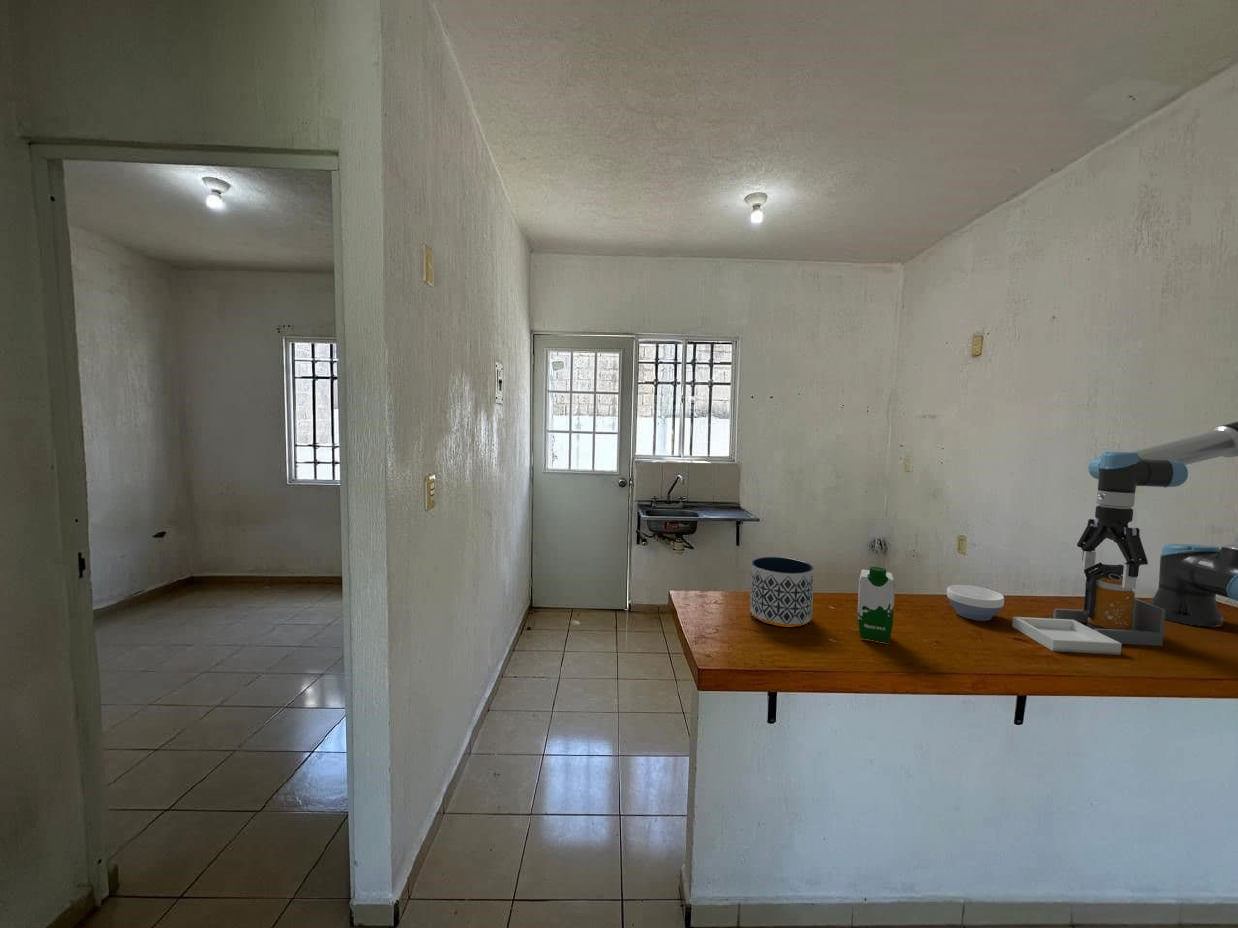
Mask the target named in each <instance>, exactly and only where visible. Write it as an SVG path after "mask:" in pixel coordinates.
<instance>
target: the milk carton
mask: <svg viewBox="0 0 1238 928" xmlns="http://www.w3.org/2000/svg"><path fill="white" fill-rule="evenodd" d="M895 588H896V584H895V579H894V575H893V574H892V572H887V569H886V568H883V567H880V566H879V567H878V566H877V567H876V566H871V567H869V569H861V571H860V576H859V580H858V596H857V598H858V599H857V623H858V630H859V637H860V638H863V639H869V640H874V641H879V642H885V643H889V644H890V642H891V636H892V633H893V632H892V631H893V627H894V625H893V624H894V612H895V611H894V610H895V607H894V606H895Z"/></svg>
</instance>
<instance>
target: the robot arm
mask: <svg viewBox="0 0 1238 928" xmlns="http://www.w3.org/2000/svg"><path fill="white" fill-rule="evenodd" d="M1219 457H1223V458H1234V457H1238V421H1235V422H1229V423H1227V424H1223V425H1219V426H1216V427H1213V428H1212V429H1209V431H1208V432H1206V433H1200V434H1198V435H1193V436H1190V437H1185V438H1181V439H1178V440H1174V441H1169V442H1167V443H1162V444H1158V445H1155V446H1151V447H1147V448H1143V449H1138V450H1134V451H1131V452H1130V451H1105V452H1103V453H1102V454H1101V456H1097V457H1094V458H1093V459H1092V460H1090V462H1089V464H1088V468H1087V469H1088V473H1089V475H1090V476H1091V477H1092V478H1094V479H1096V480H1097V481H1098V483H1097V493H1096V494H1097V496H1096V504H1098V505H1097V506H1095V512H1094V513H1095V514H1094V518H1088V520H1087V525H1086V527H1085V529H1084V531H1083V532H1082V535H1081V536H1080V538H1079V539H1078V542H1077V543H1076V546H1077V547H1078V548H1080V549H1081V550H1082V557H1081V559H1082V569H1081V573H1082V574H1085V572H1084V570H1085V569H1087V568H1089V567H1091V566H1094V565H1096V558H1097V557H1096V556H1097V552H1096V551H1097V550H1096V548H1098V546H1099V545H1100V544H1102V542H1104V541H1105V540H1106V539H1108V540H1111V541H1113V542H1114V543H1115V544H1116V545H1117V547H1118V548H1119V550H1120V552H1121V554H1122V556H1123V558H1124V559H1125V561H1126V562H1125V563H1124V564H1123V565H1124V571H1123V575H1122V576H1123V581H1122V587H1123V588H1132V589H1136V587H1137V578H1138V576H1139V570H1140V566H1142V565H1143V566H1144V565H1145V566H1146V565H1149V562H1148V561H1149V560H1148V559H1147V555H1146V552H1145V549H1144V546H1143V543H1142V540H1141V535H1140V531H1141V530H1140V528H1139V527H1129V523H1131V522H1132V521H1133V518H1134V517H1133V516H1134V509H1133V507H1135V499H1136V490H1137V487H1155V488H1156V487H1157V488H1159V487H1160V488H1165V489H1166V488H1172V487H1173V488H1174V487H1175V488H1176V487H1179V486H1181V485H1182V486H1183V484H1185V483H1186V481H1187V480H1188V476H1189V470H1188V467H1187V465H1191V464H1195V463H1199V462H1202V461H1208V460H1212V459H1215V458H1219ZM1092 571H1093V570H1092ZM1090 572H1091V571H1090ZM1158 575H1159V576H1158V577H1159V578H1158V588H1157V591H1156V592H1155V594H1154V596H1153V598H1152V601H1151V602H1148V603H1149V604H1152V605H1155V606H1157V607H1160V608H1163V609H1165V610H1166V612H1165V620H1166V621H1171V622H1173V621H1174V622H1173V623H1178V622H1179V623H1178V624H1182V623H1183V624H1184V625H1187V624H1189V625H1188V626H1193V625H1197V626H1196V627H1200V626H1216V625H1220V624H1222V625H1223V621H1224V619H1223V615H1222V614H1221V611H1220V607H1219V605H1218V602H1217V600H1216V598H1217V597H1216V595H1218V596H1221V597H1225V598H1228V599H1231V600H1233V601H1236V602H1238V532H1237V533H1236V536H1235V537H1234V540H1233V541H1232V542H1231V543H1229V544H1226V545H1222V546H1221V547H1218V546H1216V545H1215V546H1214V545H1206V544H1205V545H1204V544H1191V543H1190V544H1189V543H1188V544H1187V543H1168V544H1165V545H1164V546H1163V547H1162V549H1161V554H1160V559H1159V574H1158ZM1183 624H1182V625H1183Z"/></svg>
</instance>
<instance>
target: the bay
mask: <svg viewBox="0 0 1238 928" xmlns="http://www.w3.org/2000/svg"><path fill="white" fill-rule="evenodd" d="M1149 603H1150V602H1147V601H1143V600H1141V599H1139V598H1135V597H1134V608H1133V620H1132V629H1131V630H1117V629H1096V628H1095V629H1094V630H1095V631H1097V632H1099V633H1101V634H1103V635H1105V636H1107V637H1109V638H1111V639H1113V640H1115V641H1117V642H1119V643H1122V645H1125V644H1126V645H1137V646H1138V645H1140V646H1141V645H1142V646H1163V645H1164V635H1165V633H1164V631H1165V622H1166V621H1165V620H1166V619H1165V612H1166V610H1165V609H1163V608H1160V607H1157V606H1155V605H1152V604H1149ZM1083 610H1084V609H1072V608H1071V609H1069V608H1068V609H1067V608H1053V613H1052V614H1053V615H1052V616H1053V617H1052V619H1070V620H1075V621H1077V622H1079V623H1087V624H1088V617H1087V616H1086V615H1084V614H1083V613H1081V612H1082V611H1083Z"/></svg>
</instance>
